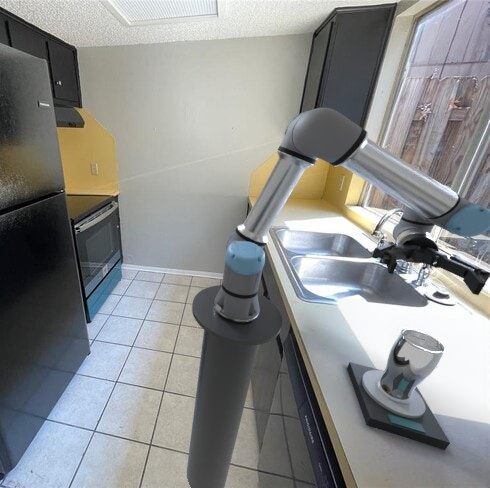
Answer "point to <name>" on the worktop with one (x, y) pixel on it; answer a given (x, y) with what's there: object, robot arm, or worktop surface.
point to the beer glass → (409, 364)
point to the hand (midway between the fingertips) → (433, 278)
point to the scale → (395, 410)
